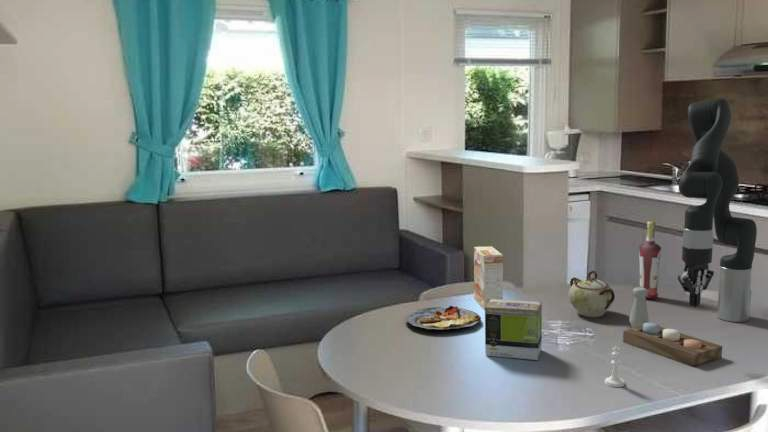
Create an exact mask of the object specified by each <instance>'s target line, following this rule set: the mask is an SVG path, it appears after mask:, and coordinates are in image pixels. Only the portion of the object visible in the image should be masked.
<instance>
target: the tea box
mask: <svg viewBox="0 0 768 432" xmlns="http://www.w3.org/2000/svg"><path fill="white" fill-rule="evenodd" d="M542 305H543V303H542V301H538V300H521V299H520V300H519V299H504V298H503V299H491V300H490V301H489V303H488V304H487V306H486V307H485V310H484V337H485V338H484V341H485V343H484V344H485V346H484V349H485V350H484V351H485V356H487V357H488V356H489V357H498V358H499V357H500V358H509V359H521V360H532V361H538V360H539V357H540V354H541V351H542V346H543V345H542V341H543V340H542V339H543V336H542V335H543V333H542V332H543V331H542V329H543V327H542V323H543V322H542V318H543V317H542V315H543V314H542V309H543V307H542Z"/></svg>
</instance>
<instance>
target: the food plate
mask: <svg viewBox="0 0 768 432" xmlns="http://www.w3.org/2000/svg"><path fill="white" fill-rule="evenodd" d="M404 320H405V321H406V322H408V324H410V325H411V326H414V327H419V328H423V329H424V330H427V331H429V330H432V329H433V330H448V331H449V330H451V329H454V330H455V329H458V330H459V329H460V328H466V327H467V328H469V327H474V326H476V325H478V324H479V323H481V321H482V317H481V316H480V315H479V314H478V313H477V312H475V311H473V310H470V309H465V308H461V307H458V306H453V305H449V306H448V307H442V306H439V307H435V306H434V307H427V308H420V309H418V308H417V309H415V310H412V311H409V312H407V314H405V315H404Z"/></svg>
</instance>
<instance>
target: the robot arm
mask: <svg viewBox="0 0 768 432" xmlns="http://www.w3.org/2000/svg"><path fill="white" fill-rule="evenodd" d="M731 114H732V113H731V107H730V104H729V101H728V100H727V99H725V98H723V97H720V98H714V99H707V100H702V101H700V100H699V101H697V102H692V103H690V104H689V106H688V107H687V116H688V117H687V118H688V123H689V126H690V130H691V132H692V136H693V138H694V141H695V145H694V146H693V148H692V151H691V155H690V160H689V164H688V166H687V167H686V169H685V170H684V171H683V172H682V174H681V176H680V179H679V180H678V190H679V193H680V194H681V195H682V196H683V197H685V198H690V199H693V198H694V199H706V201H705V202H704V203H702V204H699V205H692V206H687V208H686V209H685V211H684V227H683V233H682V247H681V248H682V249H681V250H682V251H681V260H682V261H683V263H684V264H685V265H684V268H683V274H682V275H679V274H678V276H677V280H678V282H679V284H680V285H681V287H682V289H683V291H684V292H687V293H689V299H688V300H689V301H688V303H689V306H690V307H692V308H697V307H700V306H701V294H702V293H703V291H706V290H707V289H708V286H709V285H710V283H711V280H712V278H713V277H714V274H715V271H714V270H710V269H709V267H710V266H709V264H711V263H712V262H713V250H714V249H713V248H714V247H713V246H714V245H713V244H714V234H713V228H714V231H715V235H716V238H717V240H718V241H719V243H720V244H723V245H726V246H733V247H736V252H735V253H732V254H726V255H723V256H721V258H720V260H719V277H718V280H719V281H718V293H717V307H716V308H717V309H716V311H717V312H716V313H717V314H716V317H717V318H718V319H720V320H723V321H726V322H733V323H735V322H736V323H737V322H739V323H743V322H748V321H749V319H750V318H751V317H750V315H751V303H752V300H751V299H752V288H751V286H752V285H751V284H752V269H753V262H754V259H755V258H754V257H755V252H756V251H755V250H756V249H755V248H756V242H757V236H758V235H757V234H758V233H757V232H758V230H757V224H756V222H755V220H753V219H751V218H744V217H738V216H737V217H736V216H732V213H731V210H730V204H731V201H732V199H733V198H734V196H735V194H736V192H737V191H738V189H739V185H740V179H739V174H738V170H737V164H736V162H735V161H734V160H733V158H731V157H730V155H729V154H727V153H726V152H725V151H723V150H722V149H721V148H722V145H723V144H724V140H725V138H726V136H727V132H728V130H729V127H730V125H731V118H732V115H731ZM713 224H714V225H713ZM713 226H714V227H713Z"/></svg>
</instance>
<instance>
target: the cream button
mask: <svg viewBox="0 0 768 432" xmlns="http://www.w3.org/2000/svg"><path fill="white" fill-rule="evenodd" d="M680 333H681V331H680V330H678V329H674V328H667V329H664V330H663V338H662V339H664V340H667V341H670V342H677V341H680Z"/></svg>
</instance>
